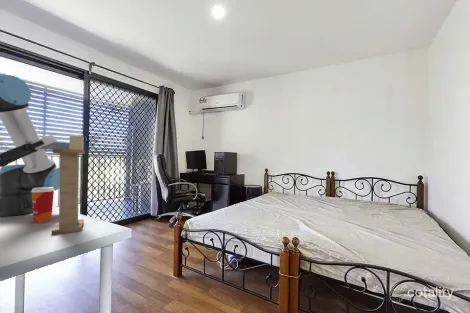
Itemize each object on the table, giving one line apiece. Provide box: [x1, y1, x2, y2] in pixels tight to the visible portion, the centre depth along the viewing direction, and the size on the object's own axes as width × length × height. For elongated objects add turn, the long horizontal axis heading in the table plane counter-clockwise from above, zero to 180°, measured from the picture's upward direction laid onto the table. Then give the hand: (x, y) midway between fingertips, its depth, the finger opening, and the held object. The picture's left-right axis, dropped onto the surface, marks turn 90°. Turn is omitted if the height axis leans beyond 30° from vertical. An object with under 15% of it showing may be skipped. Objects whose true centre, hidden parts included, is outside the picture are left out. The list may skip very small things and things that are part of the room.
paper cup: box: [31, 187, 55, 224], centre depth 94 cm, size 8×8×14 cm
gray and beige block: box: [26, 135, 85, 150], centre depth 83 cm, size 6×16×5 cm, turn 121°
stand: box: [51, 149, 86, 236], centre depth 85 cm, size 12×8×30 cm
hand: (54, 138), depth 83 cm, fingers closed on gray and beige block, 3 cm apart
